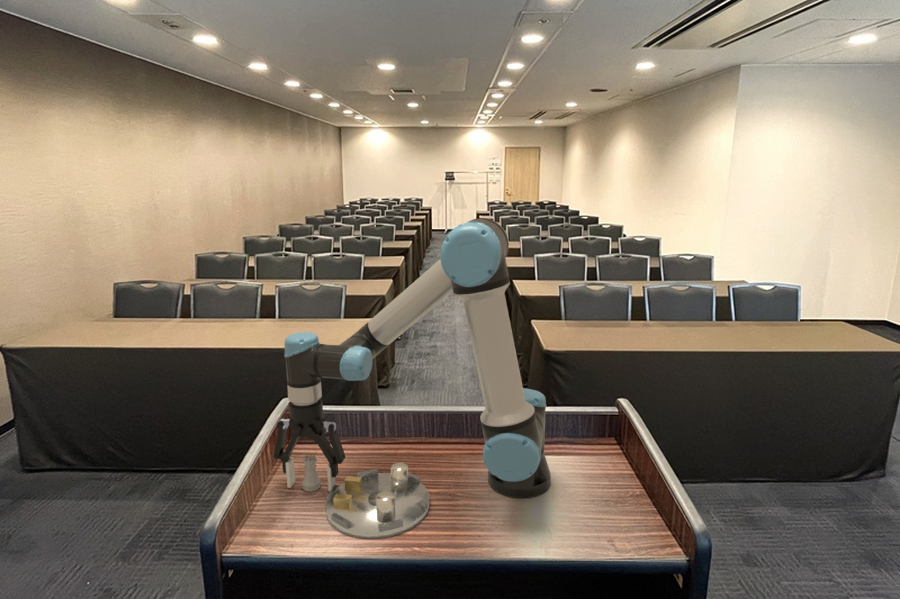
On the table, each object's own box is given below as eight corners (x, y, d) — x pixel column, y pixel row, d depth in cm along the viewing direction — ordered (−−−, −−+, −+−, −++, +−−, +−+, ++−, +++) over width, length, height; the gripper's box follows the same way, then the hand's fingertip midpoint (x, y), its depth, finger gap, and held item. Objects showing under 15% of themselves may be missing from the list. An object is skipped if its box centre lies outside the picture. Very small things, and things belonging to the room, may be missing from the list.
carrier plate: (437, 482, 135) (437, 457, 133) (417, 543, 113) (416, 515, 111) (346, 474, 138) (345, 451, 137) (310, 533, 116) (307, 505, 115)
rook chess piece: (316, 493, 130) (314, 462, 129) (298, 491, 131) (296, 460, 130) (324, 483, 135) (322, 453, 133) (307, 481, 136) (305, 451, 134)
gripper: (356, 395, 130) (361, 481, 135) (267, 390, 133) (275, 474, 138) (346, 408, 123) (351, 499, 128) (252, 403, 126) (260, 491, 131)
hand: (311, 486), depth 133 cm, fingers open, 9 cm apart
